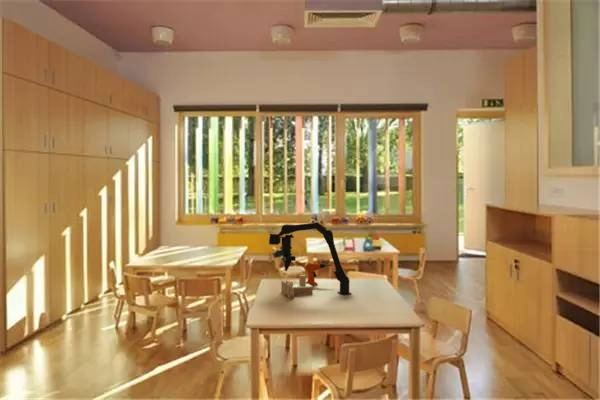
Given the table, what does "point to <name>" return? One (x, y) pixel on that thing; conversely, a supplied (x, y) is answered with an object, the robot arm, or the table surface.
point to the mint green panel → (302, 283)
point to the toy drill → (311, 274)
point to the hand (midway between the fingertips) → (286, 270)
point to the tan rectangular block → (289, 282)
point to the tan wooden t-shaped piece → (294, 290)
